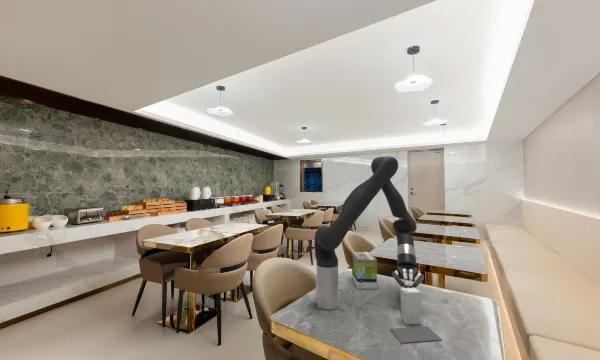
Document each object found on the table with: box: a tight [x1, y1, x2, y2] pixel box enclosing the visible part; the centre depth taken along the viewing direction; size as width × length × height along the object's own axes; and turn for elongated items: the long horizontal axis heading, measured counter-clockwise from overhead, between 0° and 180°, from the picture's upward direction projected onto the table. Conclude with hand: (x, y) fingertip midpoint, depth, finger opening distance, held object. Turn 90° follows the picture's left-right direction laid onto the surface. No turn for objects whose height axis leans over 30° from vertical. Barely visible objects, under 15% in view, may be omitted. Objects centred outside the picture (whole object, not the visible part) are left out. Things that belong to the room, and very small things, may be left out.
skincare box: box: [399, 287, 422, 325], centre depth 96 cm, size 6×4×12 cm
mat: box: [390, 325, 443, 345], centre depth 88 cm, size 14×8×1 cm, turn 96°
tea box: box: [351, 251, 378, 290], centre depth 133 cm, size 15×10×15 cm
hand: (409, 296), depth 101 cm, fingers closed
